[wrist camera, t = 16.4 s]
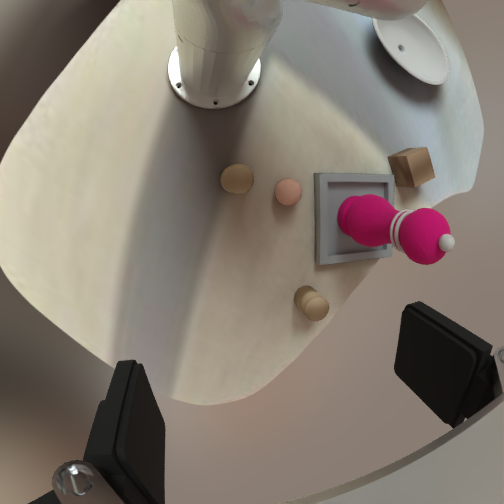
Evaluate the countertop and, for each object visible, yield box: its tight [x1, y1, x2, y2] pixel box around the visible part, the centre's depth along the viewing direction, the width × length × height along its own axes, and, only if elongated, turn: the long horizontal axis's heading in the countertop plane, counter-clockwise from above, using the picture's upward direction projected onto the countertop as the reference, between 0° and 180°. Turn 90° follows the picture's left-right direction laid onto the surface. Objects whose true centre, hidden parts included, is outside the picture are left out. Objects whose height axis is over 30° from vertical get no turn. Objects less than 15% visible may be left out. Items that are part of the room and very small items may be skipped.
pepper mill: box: [337, 194, 455, 265], centre depth 33 cm, size 7×7×20 cm
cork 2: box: [294, 286, 329, 321], centre depth 43 cm, size 4×4×5 cm
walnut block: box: [388, 147, 435, 187], centre depth 41 cm, size 5×5×5 cm
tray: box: [314, 173, 394, 265], centre depth 43 cm, size 13×13×2 cm
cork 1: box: [220, 164, 254, 194], centre depth 37 cm, size 4×4×5 cm
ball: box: [275, 179, 302, 205], centre depth 39 cm, size 4×4×4 cm
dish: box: [372, 14, 450, 85], centre depth 36 cm, size 18×14×5 cm
